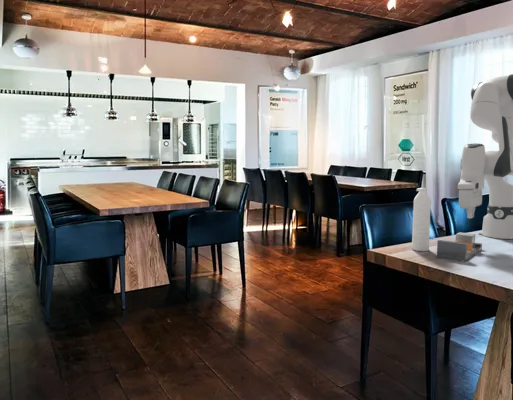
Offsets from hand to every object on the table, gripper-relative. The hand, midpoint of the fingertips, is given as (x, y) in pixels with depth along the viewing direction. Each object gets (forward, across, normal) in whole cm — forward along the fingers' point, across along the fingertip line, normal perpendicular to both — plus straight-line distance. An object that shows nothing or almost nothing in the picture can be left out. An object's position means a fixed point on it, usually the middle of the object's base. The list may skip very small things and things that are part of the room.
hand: (470, 218), depth 185 cm
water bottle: (+13, +17, -14) cm, 26 cm away
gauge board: (+13, +12, 0) cm, 17 cm away
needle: (+11, +9, 0) cm, 14 cm away
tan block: (+11, +6, 0) cm, 12 cm away
